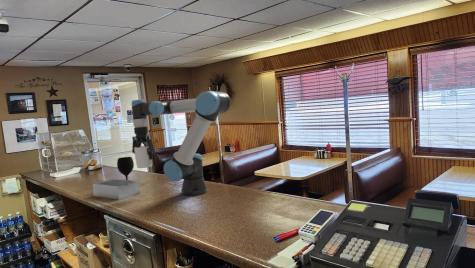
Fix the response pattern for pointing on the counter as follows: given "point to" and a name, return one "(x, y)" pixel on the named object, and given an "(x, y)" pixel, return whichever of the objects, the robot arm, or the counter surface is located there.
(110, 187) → the steel trough
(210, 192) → the counter surface
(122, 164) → the wine glass
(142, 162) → the white box
